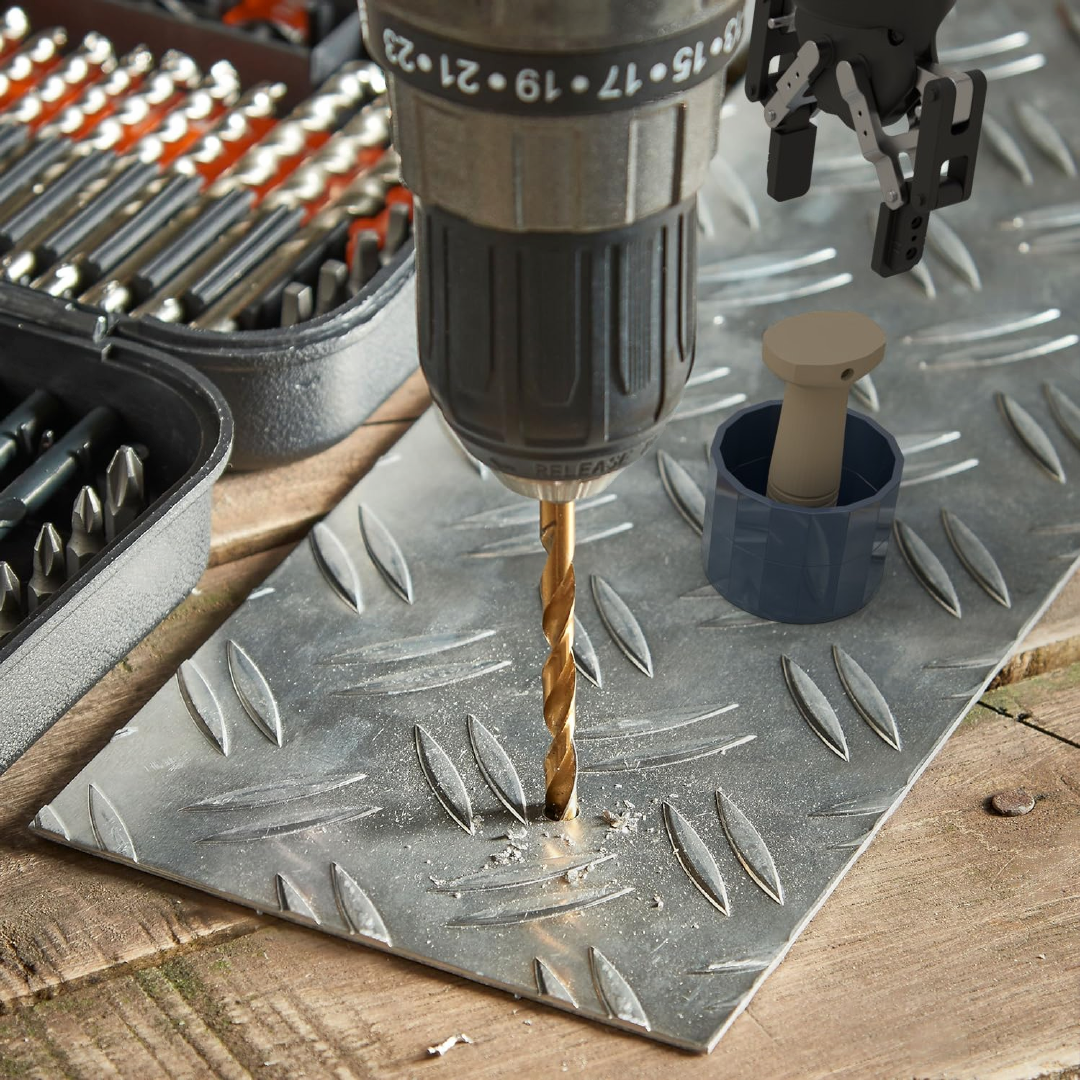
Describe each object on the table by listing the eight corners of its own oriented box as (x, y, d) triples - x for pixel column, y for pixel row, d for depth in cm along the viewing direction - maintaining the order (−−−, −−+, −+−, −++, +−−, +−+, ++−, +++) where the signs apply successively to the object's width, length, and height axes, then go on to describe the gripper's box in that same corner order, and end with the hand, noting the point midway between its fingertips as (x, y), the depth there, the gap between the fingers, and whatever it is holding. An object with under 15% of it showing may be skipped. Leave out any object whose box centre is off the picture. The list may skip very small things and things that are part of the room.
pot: (721, 493, 94) (732, 385, 89) (891, 524, 92) (913, 416, 87) (684, 603, 87) (694, 492, 82) (869, 640, 84) (891, 528, 79)
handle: (724, 545, 90) (747, 326, 80) (819, 518, 92) (853, 301, 82) (764, 596, 86) (794, 374, 77) (862, 567, 88) (903, 347, 79)
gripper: (1070, -74, 62) (994, 279, 72) (853, -166, 71) (814, 157, 82) (922, -41, 59) (865, 320, 69) (717, -142, 68) (694, 189, 79)
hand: (837, 232), depth 75 cm, fingers open, 8 cm apart
